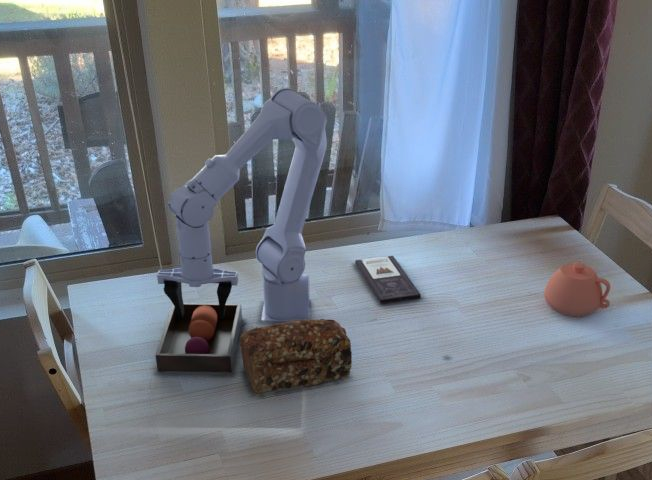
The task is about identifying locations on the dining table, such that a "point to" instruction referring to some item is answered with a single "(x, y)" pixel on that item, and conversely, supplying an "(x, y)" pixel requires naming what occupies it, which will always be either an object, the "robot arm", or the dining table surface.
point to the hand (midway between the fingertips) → (202, 315)
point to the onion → (197, 346)
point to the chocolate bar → (387, 279)
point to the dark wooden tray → (220, 345)
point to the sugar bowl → (576, 290)
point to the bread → (295, 354)
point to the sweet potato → (203, 323)
